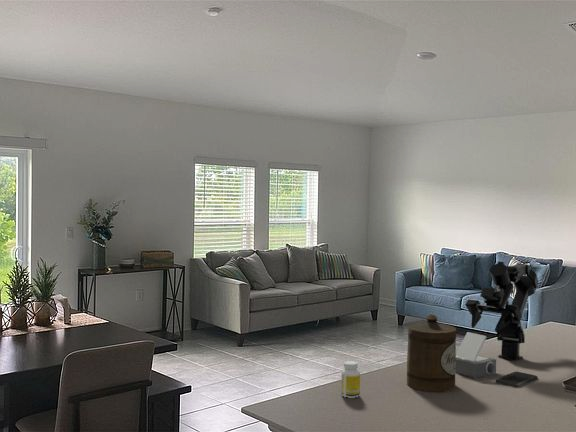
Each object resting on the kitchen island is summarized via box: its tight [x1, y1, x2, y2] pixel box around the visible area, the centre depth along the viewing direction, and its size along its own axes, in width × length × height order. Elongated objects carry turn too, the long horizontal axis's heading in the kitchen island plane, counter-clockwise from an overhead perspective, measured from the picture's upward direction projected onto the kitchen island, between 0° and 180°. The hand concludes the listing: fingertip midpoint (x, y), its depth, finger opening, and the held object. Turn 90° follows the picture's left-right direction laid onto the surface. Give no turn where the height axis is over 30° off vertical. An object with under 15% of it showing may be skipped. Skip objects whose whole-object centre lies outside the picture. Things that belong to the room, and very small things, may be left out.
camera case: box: [455, 354, 497, 379], centre depth 207 cm, size 11×9×5 cm
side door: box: [456, 331, 487, 363], centre depth 206 cm, size 10×8×1 cm
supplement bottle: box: [340, 360, 361, 399], centre depth 182 cm, size 5×5×10 cm
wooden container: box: [406, 314, 457, 393], centre depth 193 cm, size 15×15×22 cm
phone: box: [495, 371, 539, 388], centre depth 199 cm, size 8×1×15 cm
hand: (483, 329), depth 210 cm, fingers open, 8 cm apart
